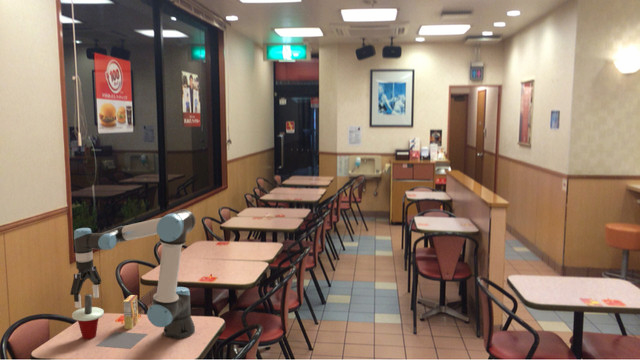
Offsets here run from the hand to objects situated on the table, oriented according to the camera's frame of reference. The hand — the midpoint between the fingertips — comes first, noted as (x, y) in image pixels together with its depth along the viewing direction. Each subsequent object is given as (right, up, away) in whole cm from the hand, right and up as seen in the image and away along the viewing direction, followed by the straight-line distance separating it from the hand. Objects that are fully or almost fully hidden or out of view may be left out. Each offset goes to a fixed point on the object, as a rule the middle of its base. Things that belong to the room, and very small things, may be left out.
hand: (87, 302), depth 241 cm
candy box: (+16, -17, +16) cm, 28 cm away
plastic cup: (0, -18, +2) cm, 18 cm away
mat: (+18, -18, -1) cm, 26 cm away
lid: (0, -6, +1) cm, 6 cm away
